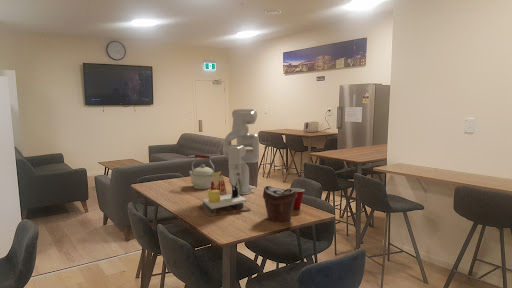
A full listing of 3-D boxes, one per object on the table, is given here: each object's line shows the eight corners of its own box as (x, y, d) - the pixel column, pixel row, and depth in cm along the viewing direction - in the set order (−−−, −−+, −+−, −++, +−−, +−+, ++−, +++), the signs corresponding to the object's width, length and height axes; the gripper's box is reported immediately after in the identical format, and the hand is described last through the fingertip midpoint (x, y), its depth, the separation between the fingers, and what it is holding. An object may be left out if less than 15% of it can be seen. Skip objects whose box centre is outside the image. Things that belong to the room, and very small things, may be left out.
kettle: (221, 186, 279) (221, 154, 276) (206, 191, 264) (205, 157, 261) (197, 182, 292) (196, 152, 290) (181, 186, 277) (180, 154, 274)
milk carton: (227, 199, 241) (227, 170, 239) (220, 203, 233) (219, 172, 230) (215, 198, 245) (215, 169, 243) (208, 201, 237) (207, 171, 234)
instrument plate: (235, 194, 232) (234, 183, 231) (246, 201, 216) (245, 189, 214) (202, 201, 222) (201, 189, 221) (211, 209, 206) (210, 196, 205)
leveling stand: (237, 202, 234) (237, 196, 234) (250, 210, 216) (250, 204, 216) (198, 207, 223) (198, 201, 222) (209, 216, 205) (209, 210, 205)
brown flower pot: (303, 221, 196) (303, 189, 194) (268, 225, 191) (268, 192, 189) (290, 212, 213) (290, 182, 211) (258, 215, 208) (258, 185, 206)
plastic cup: (307, 207, 224) (307, 188, 222) (300, 211, 215) (300, 191, 213) (291, 204, 229) (291, 186, 228) (283, 208, 220) (283, 189, 219)
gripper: (245, 168, 214) (245, 198, 216) (235, 164, 228) (235, 192, 230) (233, 168, 211) (233, 199, 213) (224, 165, 224) (224, 194, 226)
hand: (234, 196), depth 221 cm, fingers closed
